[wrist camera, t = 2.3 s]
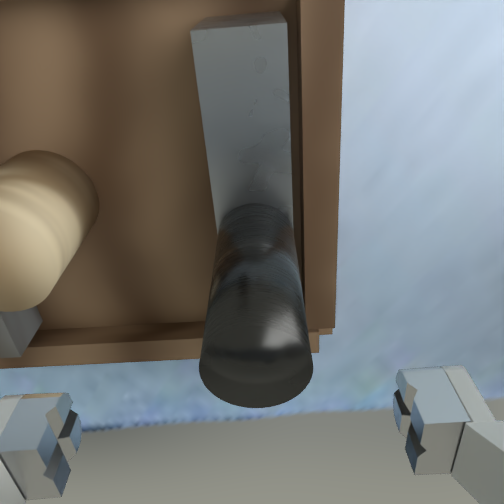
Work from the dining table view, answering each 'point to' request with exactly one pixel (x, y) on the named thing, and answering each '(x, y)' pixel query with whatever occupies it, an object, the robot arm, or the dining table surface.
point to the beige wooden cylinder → (40, 224)
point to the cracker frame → (155, 168)
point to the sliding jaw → (250, 213)
